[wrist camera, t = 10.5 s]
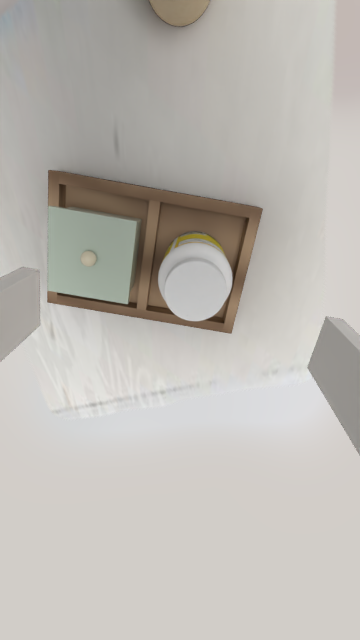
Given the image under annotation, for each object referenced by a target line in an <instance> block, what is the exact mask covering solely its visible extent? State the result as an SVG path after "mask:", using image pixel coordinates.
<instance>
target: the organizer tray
mask: <svg viewBox="0 0 360 640" xmlns="http://www.w3.org/2000/svg"><path fill="white" fill-rule="evenodd" d="M48 206H58V207H63V208H67V207H78V208H84V209H89V210H95V211H100V212H106V213H112V214H117V215H123V216H129V217H134V218H140V219H142V223H141V232H140V240H139V249H138V258H137V266H136V275H135V283H134V286H133V288H132V290H131V291H130V299H129V303H128V304H123V303H117V302H111V301H105V300H99V299H94V298H88V297H82V296H76V295H70V294H64V293H58V292H53V291H48V292H47V302H49V303H54V304H60V305H66V306H72V307H78V308H84V309H90V310H96V311H101V312H107V313H113V314H119V315H125V316H131V317H137V318H143V319H149V320H154V321H160V322H166V323H172V324H178V325H184V326H190V327H196V328H201V329H207V330H213V331H219V332H225V333H232V329H233V325H234V321H235V317H236V313H237V309H238V305H239V301H240V297H241V293H242V289H243V285H244V281H245V277H246V273H247V269H248V265H249V261H250V258H251V254H252V250H253V246H254V242H255V238H256V234H257V230H258V226H259V222H260V218H261V214H262V210H263V209H262V208H259V207H255V206H250V205H244V204H238V203H233V202H227V201H222V200H216V199H211V198H205V197H200V196H194V195H188V194H183V193H177V192H172V191H166V190H161V189H155V188H150V187H144V186H139V185H133V184H127V183H122V182H116V181H111V180H105V179H100V178H94V177H89V176H83V175H77V174H72V173H66V172H61V171H52V170H48ZM192 231H199V232H204V233H207V234H209V235H210V236H212V237H213V238H215V239H216V240H217V241H218V243H219V244H220V245H221V247H222V249H223V251H224V253H225V256H226V258H227V260H228V262H229V265H230V267H231V271H232V288H231V291H230V294H229V296H228V298H227V299H226V301H225V302H224V304H223V306H222V308H221V309H220V310H219V311H218V312H217V313H216V314H215V315H214V316H212V317H210V318H208V319H206V320H202V321H188V320H184V319H182V318H180V317H178V316H177V315H175V314H174V313H173V312H172V311H171V310H170V309H169V307H168V306H167V304H166V301H165V300H164V299H163V297H162V295H161V292H160V289H159V285H158V274H159V269H160V266H161V263H162V261H163V259H164V256H165V254H166V251H167V249H168V247H169V246H170V244H171V243H172V242H173V241H174V239H176V238H177V237H178V236H180V235H182V234H184V233H187V232H192Z"/></svg>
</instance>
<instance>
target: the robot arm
mask: <svg viewBox="0 0 360 640" xmlns="http://www.w3.org/2000/svg"><path fill="white" fill-rule="evenodd" d="M39 326H40V281H39V270H38V269H32V268H26V267H21V268H19V269H17V270H15V271H13V272H11V273H9V274H7V275H5V276H3V277H1V278H0V362H1V361H2V360H3V359H4V358H5V357H6V356H7V355H9V354H10V352H12V351H13V350H14V349H15V348H16V347H17V346H18V345H19V344H20V343H21V342H23V341H24V340H25V339H26V338H27V337H28V336H29V335H30V334H31V333H32V332H33V331H34V330H36V329H37V328H38V327H39ZM307 368H308V369H309V371H310V373H311V374H312V376H313V378H314V379H315V381H316V383H317V385H318V386H319V388H320V390H321V391H322V393H323V394H324V396H325V398H326V400H327V401H328V402H329V404H330V406H331V408H332V410H333V411H334V413H335V415H336V416H337V418H338V420H339V421H340V423H341V425H342V426H343V428H344V430H345V431H346V433H347V434H348V436H349V438H350V440H351V441H352V443H353V445H354V446H355V448H356V450H357V452H358V453H359V455H360V335H359V334H358V333H357V332H356V331H355V330H354V329H353V328H352V327H350V326H349V325H348V324H347V323H346V322H345V321H344V320H343V319H340V318H334V317H327V316H326V318H325V320H324V323H323V326H322V329H321V331H320V334H319V337H318V340H317V342H316V345H315V348H314V351H313V353H312V356H311V359H310V362H309V364H308V367H307Z"/></svg>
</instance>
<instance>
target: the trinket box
mask: <svg viewBox="0 0 360 640" xmlns="http://www.w3.org/2000/svg"><path fill="white" fill-rule="evenodd" d="M141 223H142V219H140V218H134V217H129V216H123V215H117V214H112V213H106V212H100V211H95V210H89V209H84V208H78V207H67V208H63V207H58V206H48V276H47V291H53V292H58V293H64V294H70V295H76V296H82V297H88V298H94V299H99V300H105V301H111V302H117V303H123V304H128V303H129V299H130V291H131V290H132V288H133V286H134V283H135V275H136V266H137V258H138V249H139V240H140V232H141Z"/></svg>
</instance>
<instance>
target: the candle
mask: <svg viewBox="0 0 360 640" xmlns="http://www.w3.org/2000/svg"><path fill="white" fill-rule="evenodd" d="M149 1H150V4H151V6H152V8H153V9H154V11H155V12H156V14H157V15H158V16H159V17H160V18H161V19H162V20H163V21H165V22H166V23H168V24H170V25H174V26H185V25H188V24H191V23H193V22H194V21H196V20H197V19H198V18H199V17H200V16H201V15H202V14H203V13H204V11H205V10H206V8H207V6H208V4H209V2H210V0H149Z"/></svg>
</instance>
